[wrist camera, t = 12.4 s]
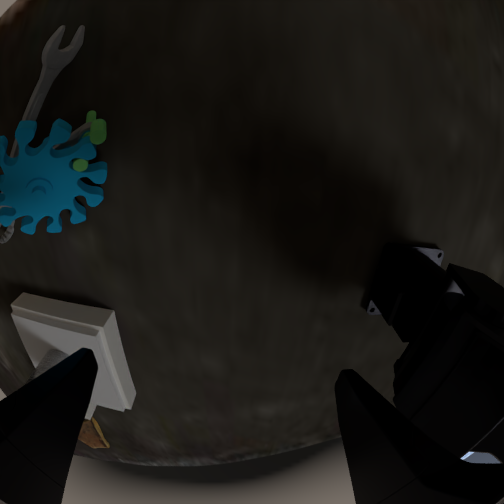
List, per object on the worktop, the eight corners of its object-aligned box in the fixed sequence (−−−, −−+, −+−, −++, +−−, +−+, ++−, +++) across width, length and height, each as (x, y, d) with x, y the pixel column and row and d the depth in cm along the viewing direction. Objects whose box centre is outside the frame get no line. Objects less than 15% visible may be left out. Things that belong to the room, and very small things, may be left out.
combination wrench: (-6, 251, 16) (72, 19, 9) (-14, 244, 16) (62, 16, 9) (17, 236, 20) (98, 31, 13) (10, 229, 19) (87, 28, 13)
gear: (42, 255, 18) (-47, 200, 9) (45, 202, 20) (-25, 144, 11) (147, 189, 18) (62, 84, 9) (138, 140, 20) (77, 50, 11)
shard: (94, 413, 30) (90, 422, 28) (132, 439, 33) (129, 448, 31) (66, 420, 32) (63, 428, 31) (99, 444, 35) (96, 451, 33)
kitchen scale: (114, 310, 22) (95, 340, 18) (140, 406, 28) (132, 433, 24) (20, 291, 21) (-2, 312, 17) (59, 384, 27) (47, 405, 23)
